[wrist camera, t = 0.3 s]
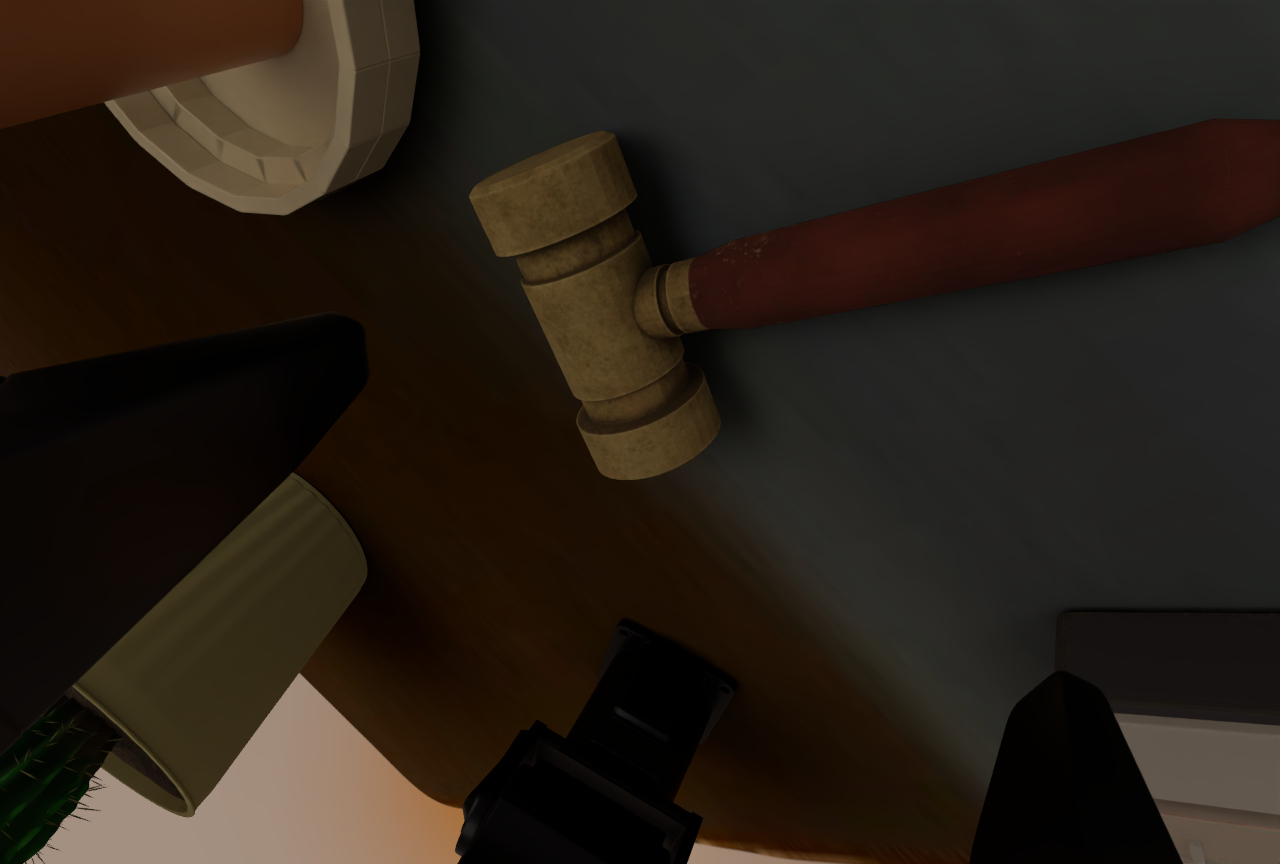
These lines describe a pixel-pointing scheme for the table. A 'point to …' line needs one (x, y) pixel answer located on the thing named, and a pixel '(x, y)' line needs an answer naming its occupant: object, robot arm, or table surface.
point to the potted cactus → (189, 672)
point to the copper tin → (128, 47)
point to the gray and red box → (1193, 719)
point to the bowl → (289, 111)
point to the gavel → (832, 260)
